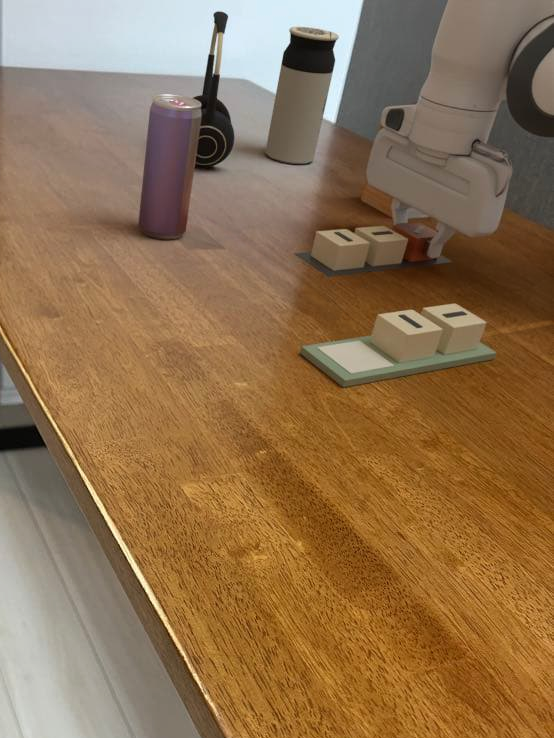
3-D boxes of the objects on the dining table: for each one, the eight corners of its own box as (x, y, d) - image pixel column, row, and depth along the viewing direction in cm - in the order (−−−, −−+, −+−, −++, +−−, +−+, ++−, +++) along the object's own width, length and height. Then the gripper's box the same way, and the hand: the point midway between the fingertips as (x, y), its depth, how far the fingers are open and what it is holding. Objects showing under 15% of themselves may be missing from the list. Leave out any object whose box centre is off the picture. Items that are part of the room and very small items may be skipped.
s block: (413, 245, 110) (420, 221, 109) (437, 259, 107) (445, 234, 106) (386, 248, 109) (393, 224, 107) (410, 262, 106) (417, 237, 104)
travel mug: (260, 158, 137) (283, 30, 126) (269, 147, 143) (292, 23, 132) (309, 168, 136) (337, 39, 124) (316, 156, 142) (343, 32, 130)
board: (414, 247, 113) (423, 217, 110) (451, 267, 108) (462, 237, 105) (292, 259, 104) (299, 227, 102) (326, 282, 100) (334, 250, 97)
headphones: (224, 151, 138) (247, 7, 126) (230, 179, 127) (256, 24, 114) (172, 144, 138) (189, 0, 125) (173, 172, 126) (192, 16, 114)
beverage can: (156, 243, 103) (172, 108, 94) (128, 226, 107) (140, 94, 97) (194, 237, 106) (213, 106, 97) (166, 221, 110) (181, 92, 100)
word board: (447, 329, 93) (459, 295, 90) (494, 359, 88) (508, 324, 86) (299, 353, 84) (308, 316, 82) (342, 387, 80) (353, 349, 77)
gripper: (537, 155, 93) (491, 277, 102) (412, 105, 107) (381, 216, 115) (496, 157, 91) (453, 282, 99) (373, 105, 104) (345, 219, 113)
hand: (413, 246), depth 107 cm, fingers closed on s block, 4 cm apart
